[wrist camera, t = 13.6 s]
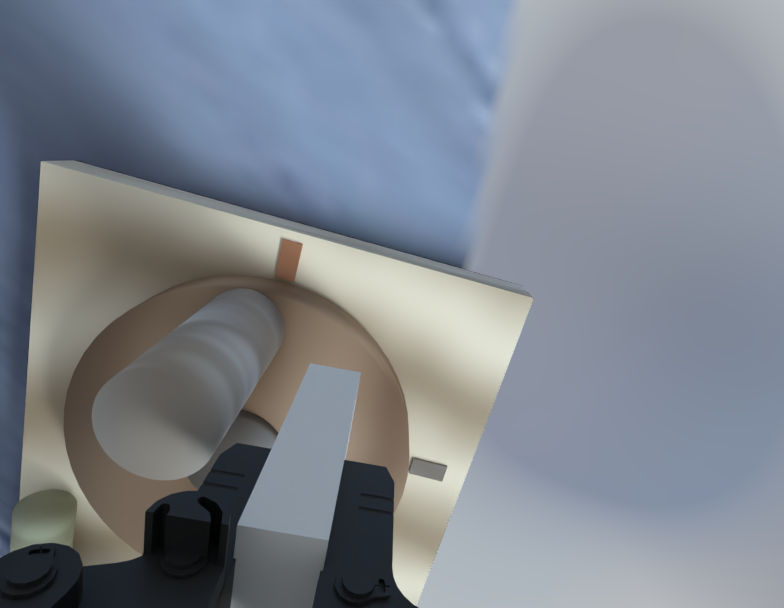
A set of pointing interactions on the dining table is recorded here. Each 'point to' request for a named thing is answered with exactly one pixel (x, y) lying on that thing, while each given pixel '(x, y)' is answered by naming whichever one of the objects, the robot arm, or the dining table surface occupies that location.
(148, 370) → the dial
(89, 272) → the base
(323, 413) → the robot arm
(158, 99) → the dining table surface
